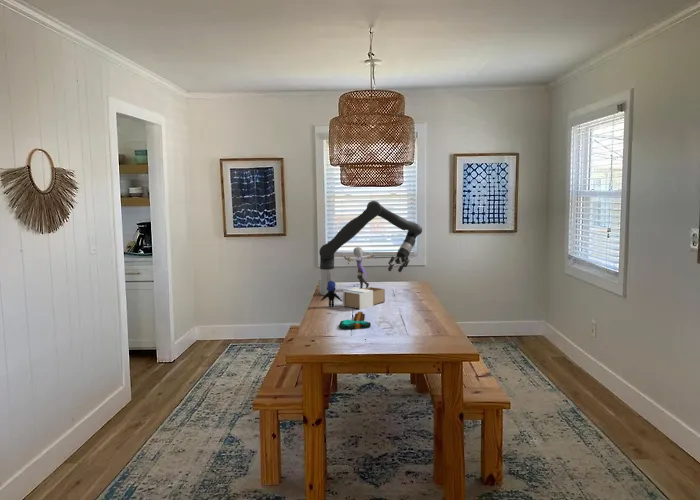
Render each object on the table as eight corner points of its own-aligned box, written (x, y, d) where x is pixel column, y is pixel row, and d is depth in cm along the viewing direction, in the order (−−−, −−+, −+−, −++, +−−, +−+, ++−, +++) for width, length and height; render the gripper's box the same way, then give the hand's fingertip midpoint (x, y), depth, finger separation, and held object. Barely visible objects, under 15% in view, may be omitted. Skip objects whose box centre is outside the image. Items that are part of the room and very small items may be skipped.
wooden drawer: (370, 299, 347) (370, 287, 346) (384, 301, 340) (384, 289, 339) (345, 306, 329) (345, 292, 328) (359, 308, 322) (359, 295, 321)
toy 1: (343, 305, 333) (342, 280, 331) (341, 307, 327) (341, 282, 325) (321, 304, 334) (321, 280, 333) (320, 307, 328) (319, 282, 327)
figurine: (345, 287, 391) (344, 245, 388) (374, 287, 390) (374, 245, 387) (343, 291, 375) (343, 248, 372) (374, 291, 374) (374, 247, 370)
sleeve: (355, 303, 338) (355, 287, 337) (373, 306, 329) (373, 290, 328) (342, 306, 329) (342, 290, 328) (360, 309, 320) (360, 293, 319)
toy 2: (343, 316, 305) (338, 330, 275) (343, 311, 305) (338, 324, 275) (372, 316, 304) (370, 330, 274) (372, 311, 304) (369, 325, 274)
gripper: (393, 246, 362) (382, 267, 355) (410, 247, 351) (399, 268, 345) (399, 253, 366) (388, 273, 359) (416, 254, 355) (405, 275, 349)
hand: (394, 271), depth 352 cm, fingers open, 8 cm apart
